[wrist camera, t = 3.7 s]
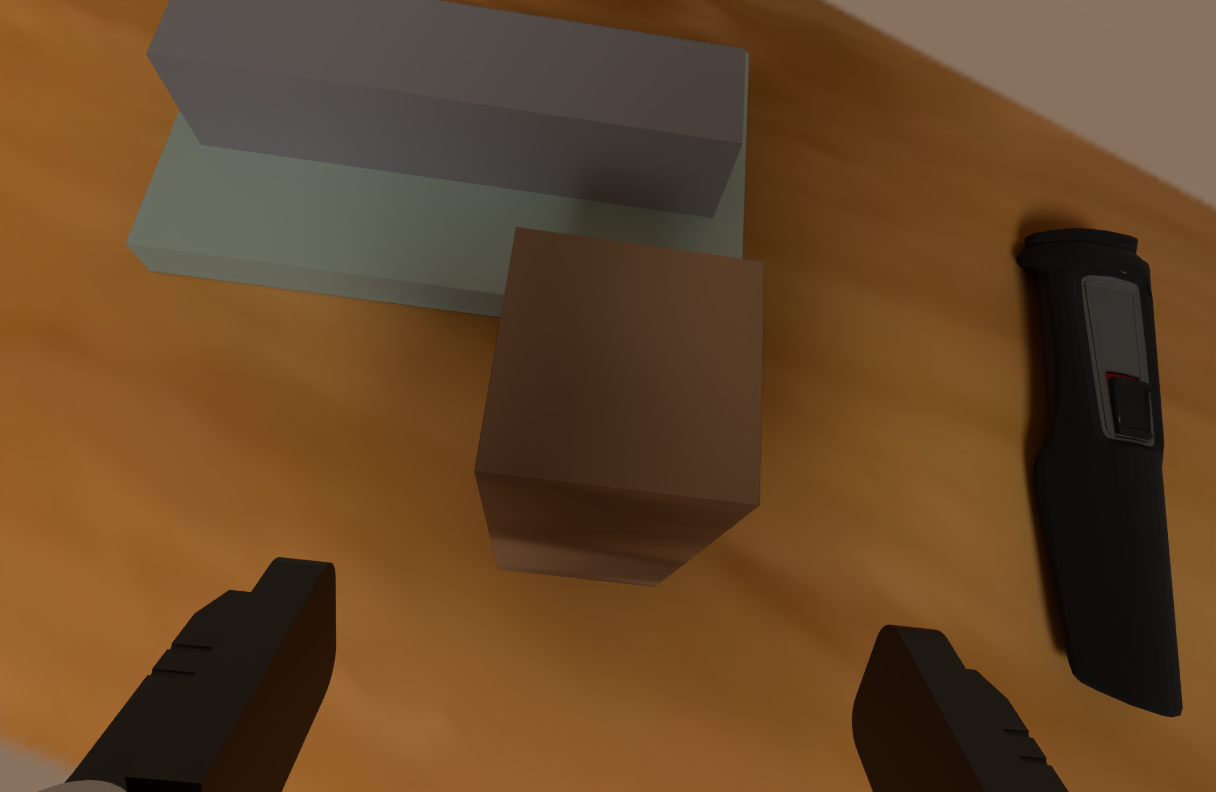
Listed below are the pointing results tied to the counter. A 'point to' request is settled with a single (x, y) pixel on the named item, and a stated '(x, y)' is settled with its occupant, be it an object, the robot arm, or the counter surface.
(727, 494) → the brown wooden block
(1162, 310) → the counter surface
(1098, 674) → the electric trimmer
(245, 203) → the ridge board
